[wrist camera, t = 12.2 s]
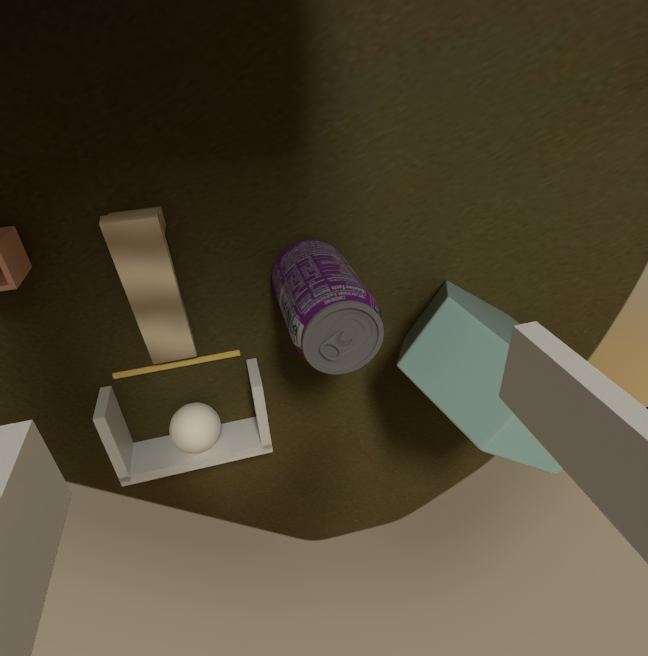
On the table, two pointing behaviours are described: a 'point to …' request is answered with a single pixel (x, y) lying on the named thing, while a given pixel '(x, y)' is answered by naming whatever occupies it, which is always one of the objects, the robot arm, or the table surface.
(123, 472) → the fence
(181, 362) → the line
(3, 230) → the salmon pink box
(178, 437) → the ball
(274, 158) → the table surface
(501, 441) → the hexagonal wall shelf
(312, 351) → the beverage can
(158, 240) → the ramp
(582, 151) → the table surface
